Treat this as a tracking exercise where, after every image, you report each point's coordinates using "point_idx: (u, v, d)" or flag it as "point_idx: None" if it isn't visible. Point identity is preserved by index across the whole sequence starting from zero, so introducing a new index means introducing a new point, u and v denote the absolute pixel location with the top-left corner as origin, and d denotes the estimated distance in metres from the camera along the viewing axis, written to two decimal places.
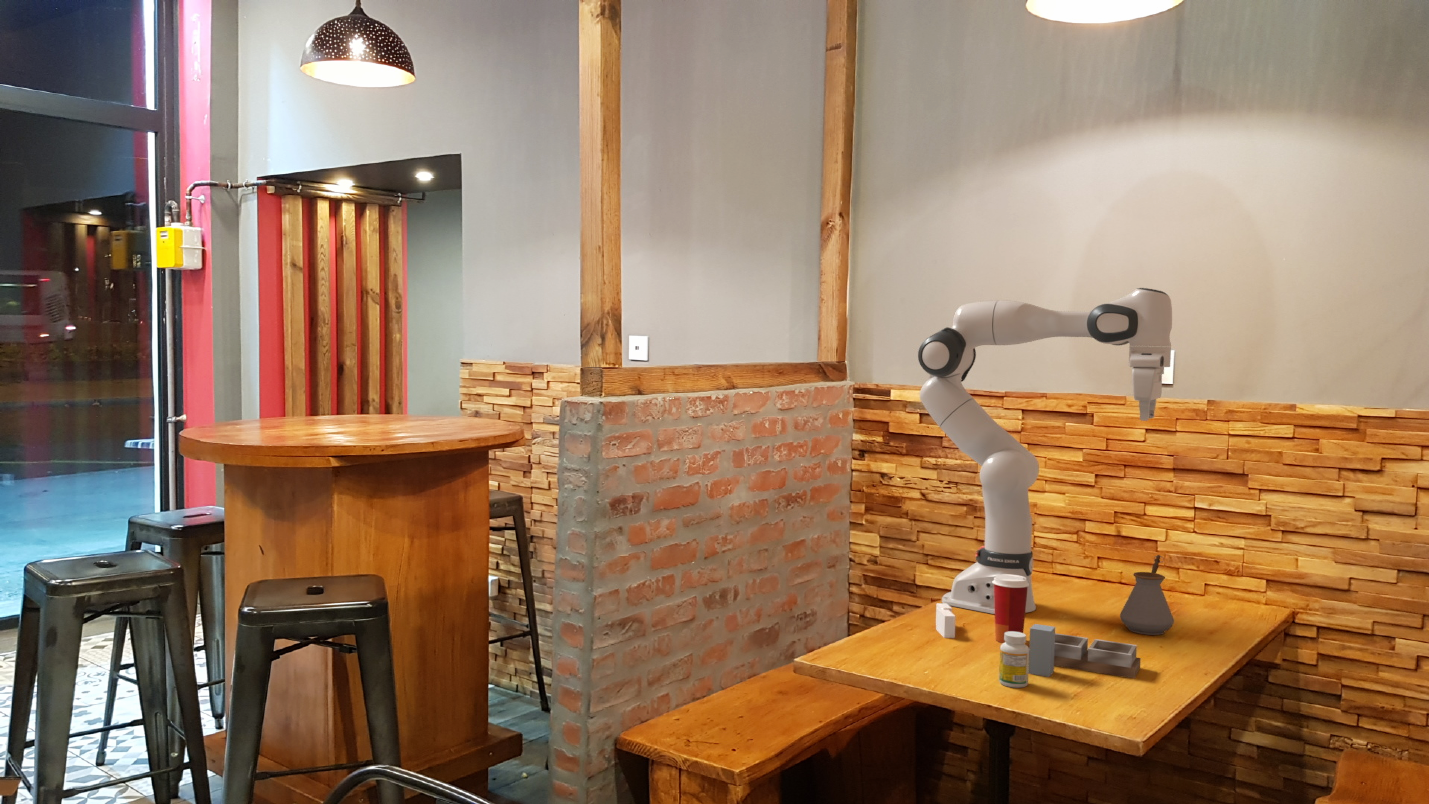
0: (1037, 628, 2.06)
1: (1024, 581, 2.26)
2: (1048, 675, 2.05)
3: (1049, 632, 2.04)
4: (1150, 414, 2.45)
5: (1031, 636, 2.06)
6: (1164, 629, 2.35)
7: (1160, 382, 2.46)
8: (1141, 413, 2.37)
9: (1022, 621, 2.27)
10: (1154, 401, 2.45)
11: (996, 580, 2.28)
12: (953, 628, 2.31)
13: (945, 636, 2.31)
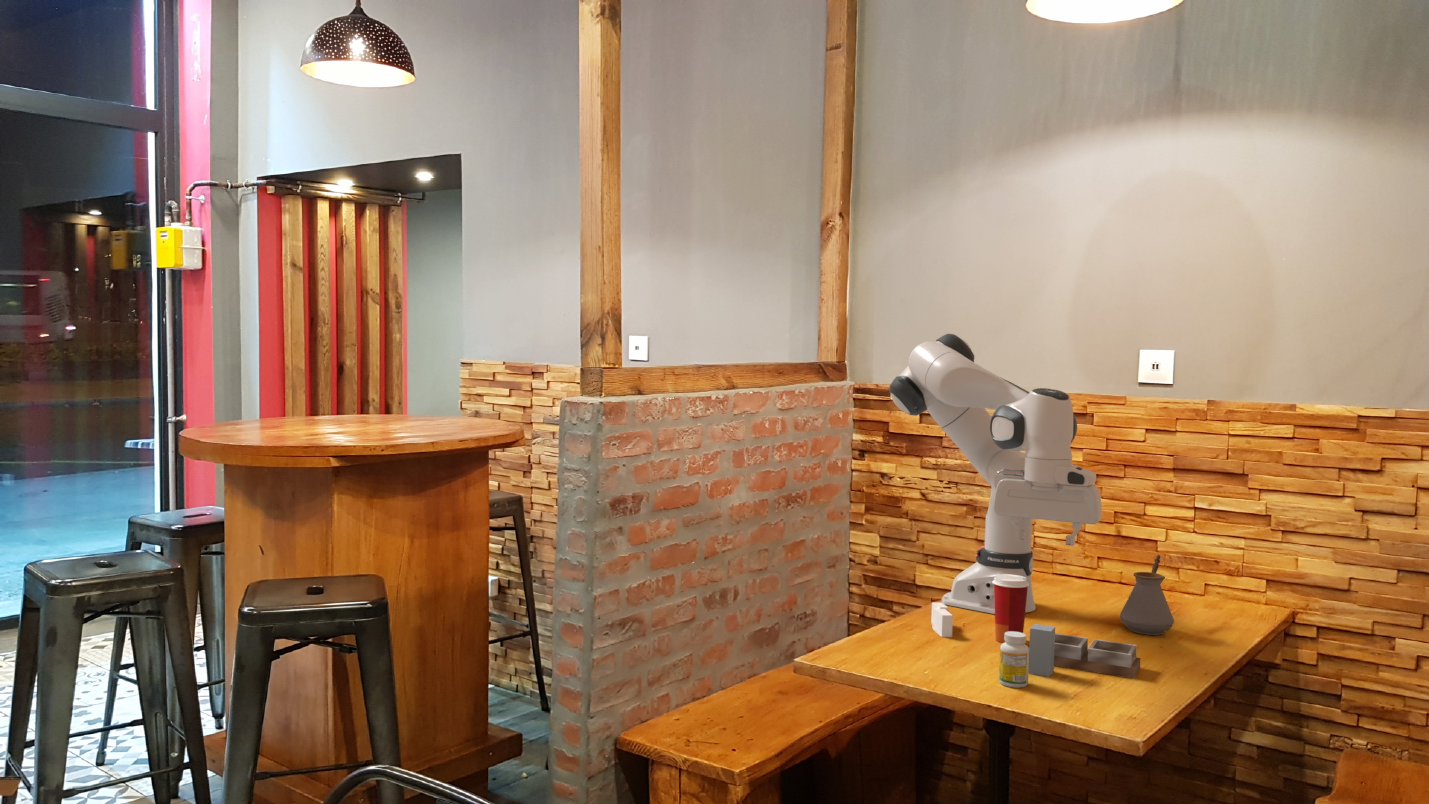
0: (1037, 628, 2.06)
1: (1024, 581, 2.26)
2: (1048, 675, 2.05)
3: (1049, 632, 2.04)
4: (1024, 535, 2.08)
5: (1031, 636, 2.06)
6: (1164, 629, 2.35)
7: None
8: (1074, 537, 2.02)
9: (1022, 621, 2.27)
10: (1020, 519, 2.09)
11: (996, 580, 2.28)
12: (951, 627, 2.31)
13: (943, 635, 2.31)
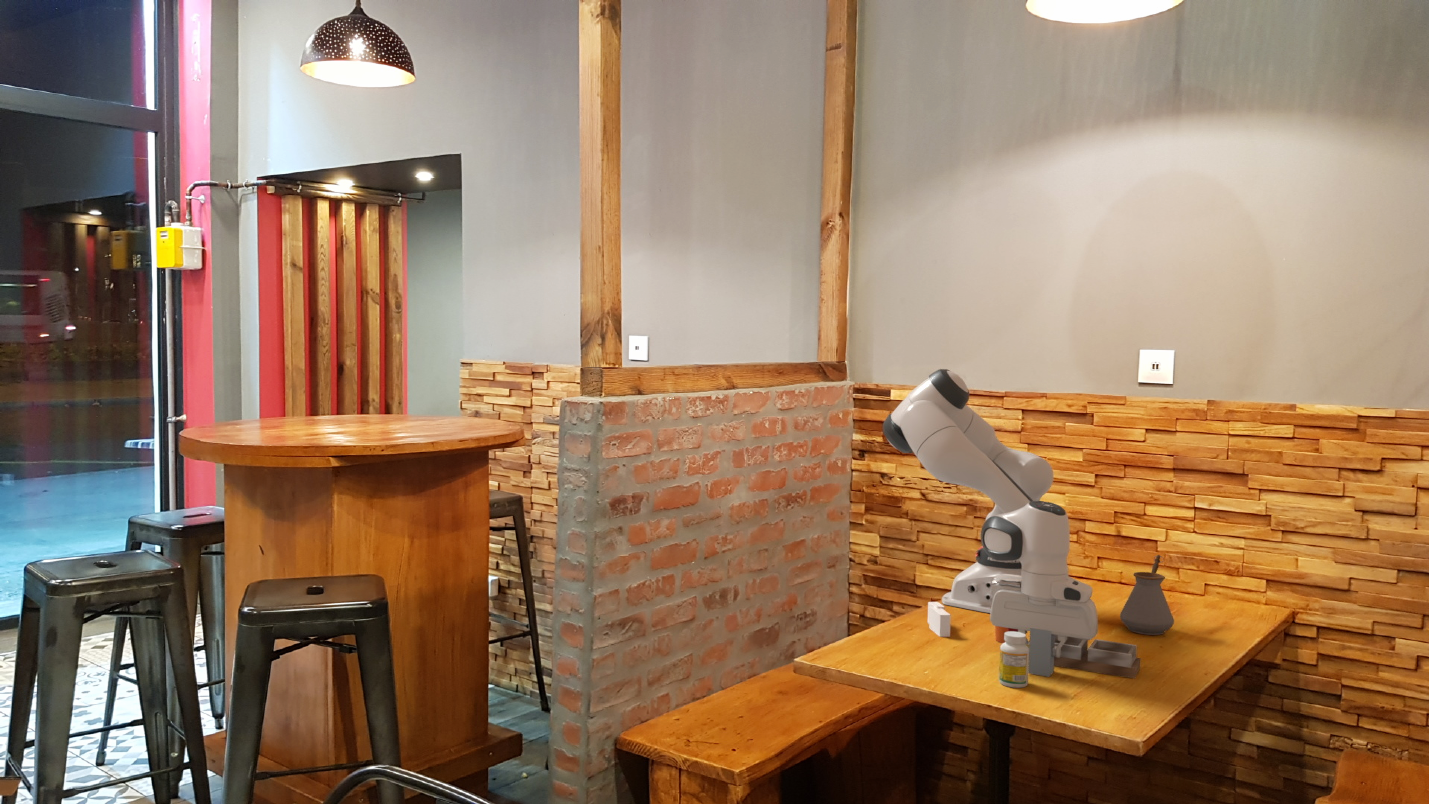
0: None
1: None
2: (1048, 675, 2.05)
3: (1049, 632, 2.04)
4: None
5: (1031, 636, 2.06)
6: (1164, 629, 2.35)
7: None
8: (1059, 649, 2.05)
9: None
10: None
11: (996, 580, 2.28)
12: (949, 626, 2.32)
13: (941, 635, 2.31)
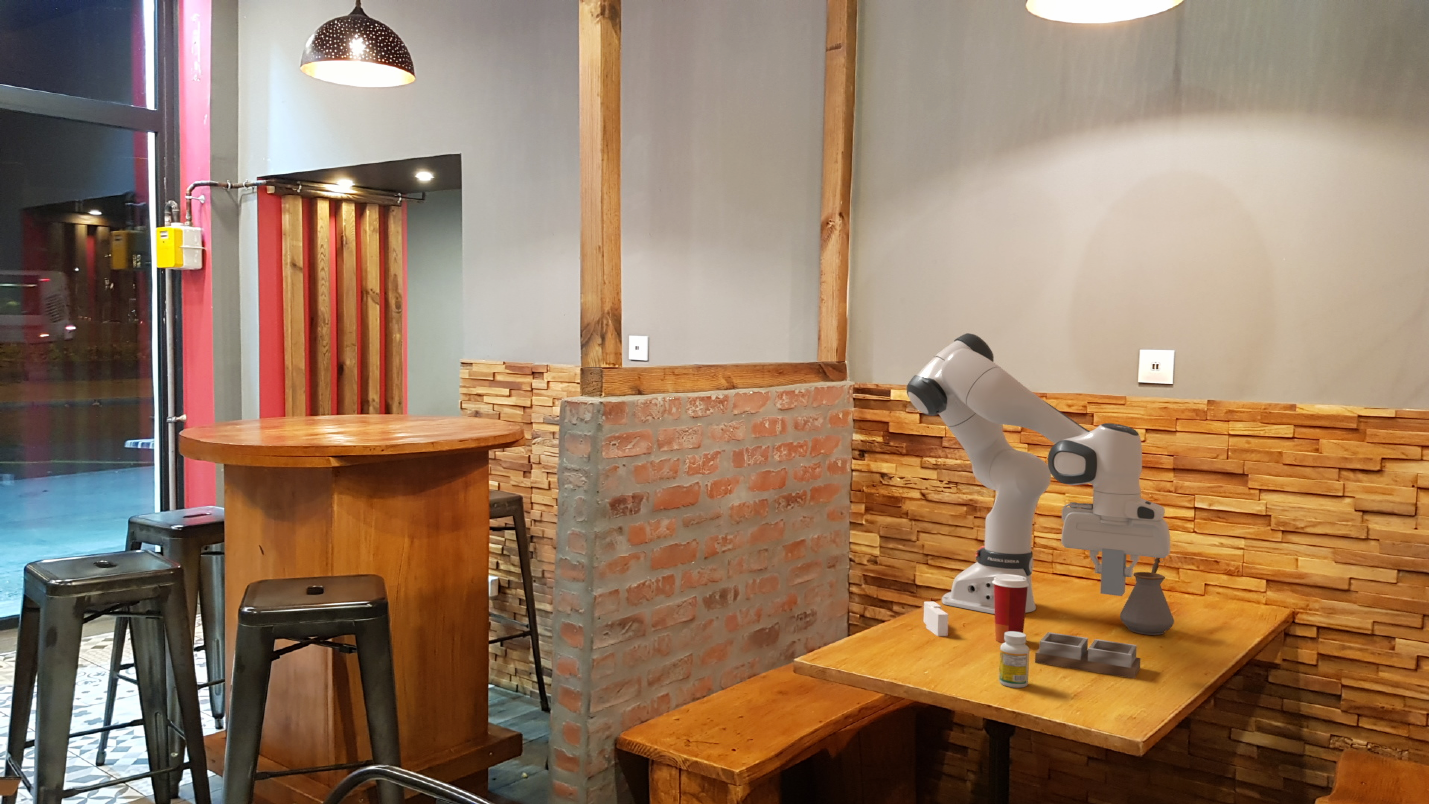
0: None
1: (1024, 581, 2.26)
2: (1120, 594, 2.07)
3: (1122, 552, 2.06)
4: None
5: (1103, 556, 2.08)
6: (1164, 629, 2.35)
7: None
8: (1132, 569, 2.07)
9: (1022, 621, 2.27)
10: (1098, 552, 2.11)
11: (996, 580, 2.28)
12: (946, 626, 2.32)
13: (938, 634, 2.32)
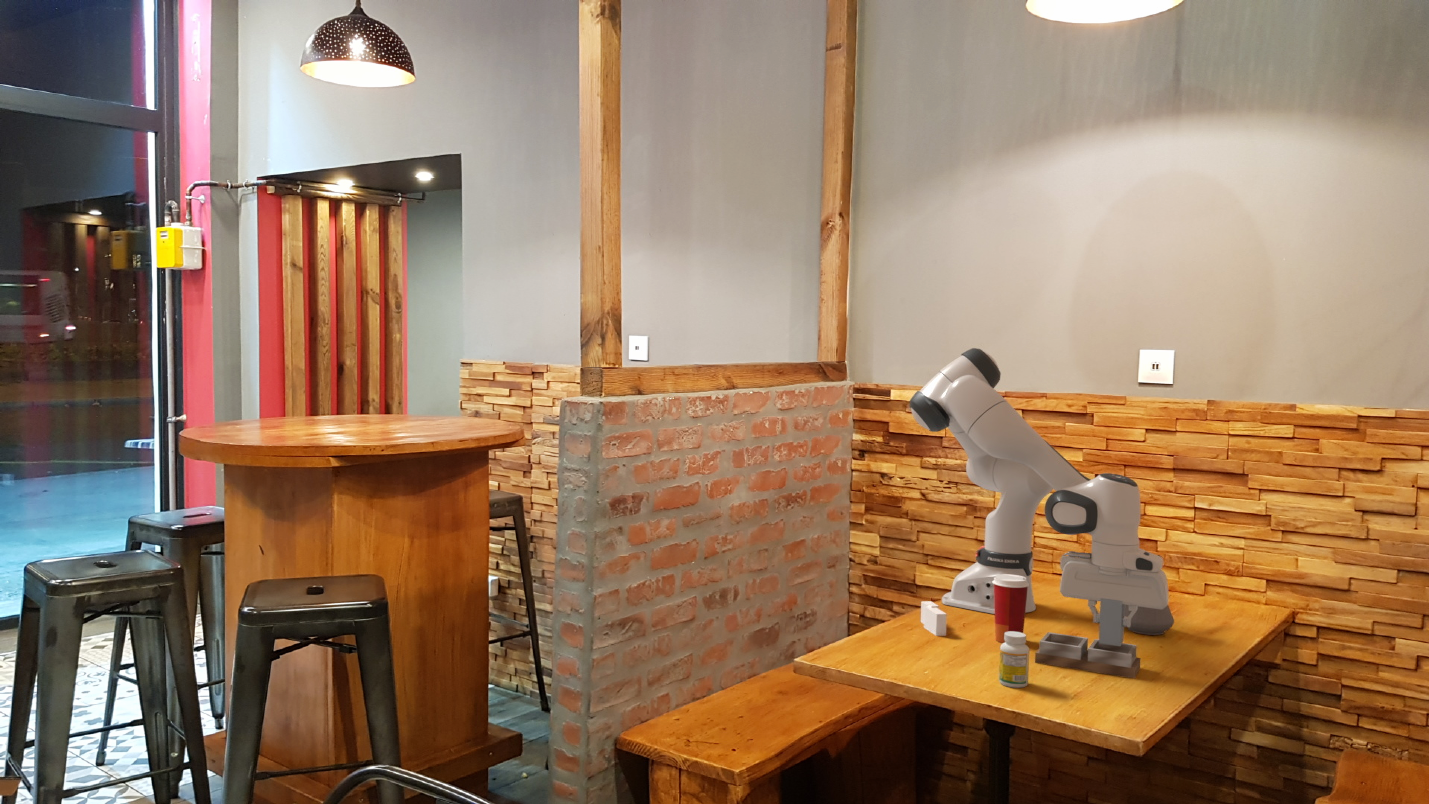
0: None
1: (1024, 581, 2.26)
2: (1119, 644, 2.07)
3: (1120, 602, 2.07)
4: None
5: (1102, 606, 2.08)
6: (1164, 629, 2.35)
7: None
8: (1130, 619, 2.07)
9: (1022, 621, 2.27)
10: (1096, 601, 2.12)
11: (996, 580, 2.28)
12: (945, 625, 2.32)
13: (937, 634, 2.32)
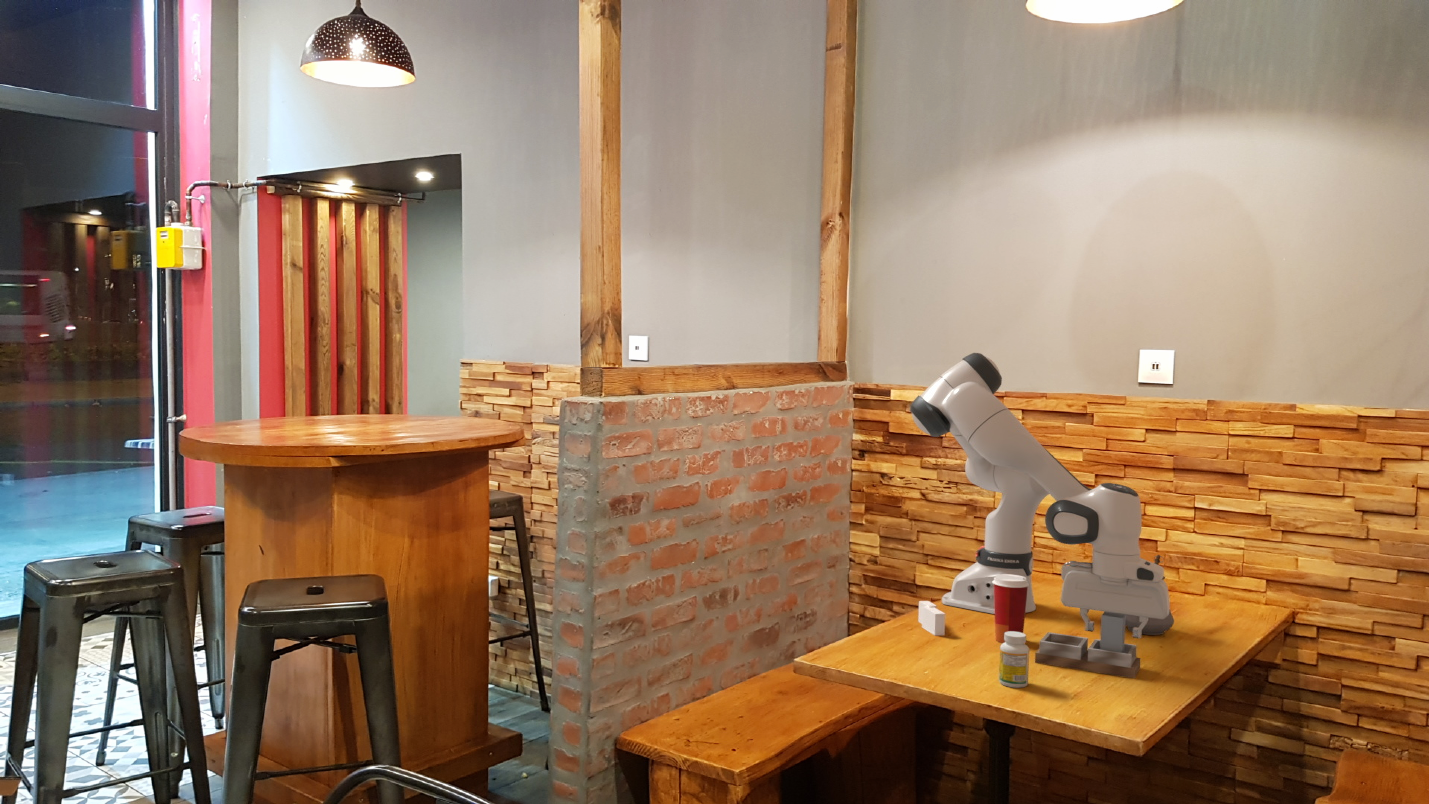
0: (1108, 615, 2.09)
1: (1024, 581, 2.26)
2: None
3: (1121, 619, 2.07)
4: (1093, 626, 2.12)
5: (1102, 623, 2.09)
6: (1164, 629, 2.35)
7: None
8: (1141, 630, 2.07)
9: (1022, 621, 2.27)
10: (1088, 610, 2.13)
11: (996, 580, 2.28)
12: (943, 625, 2.33)
13: (935, 634, 2.32)
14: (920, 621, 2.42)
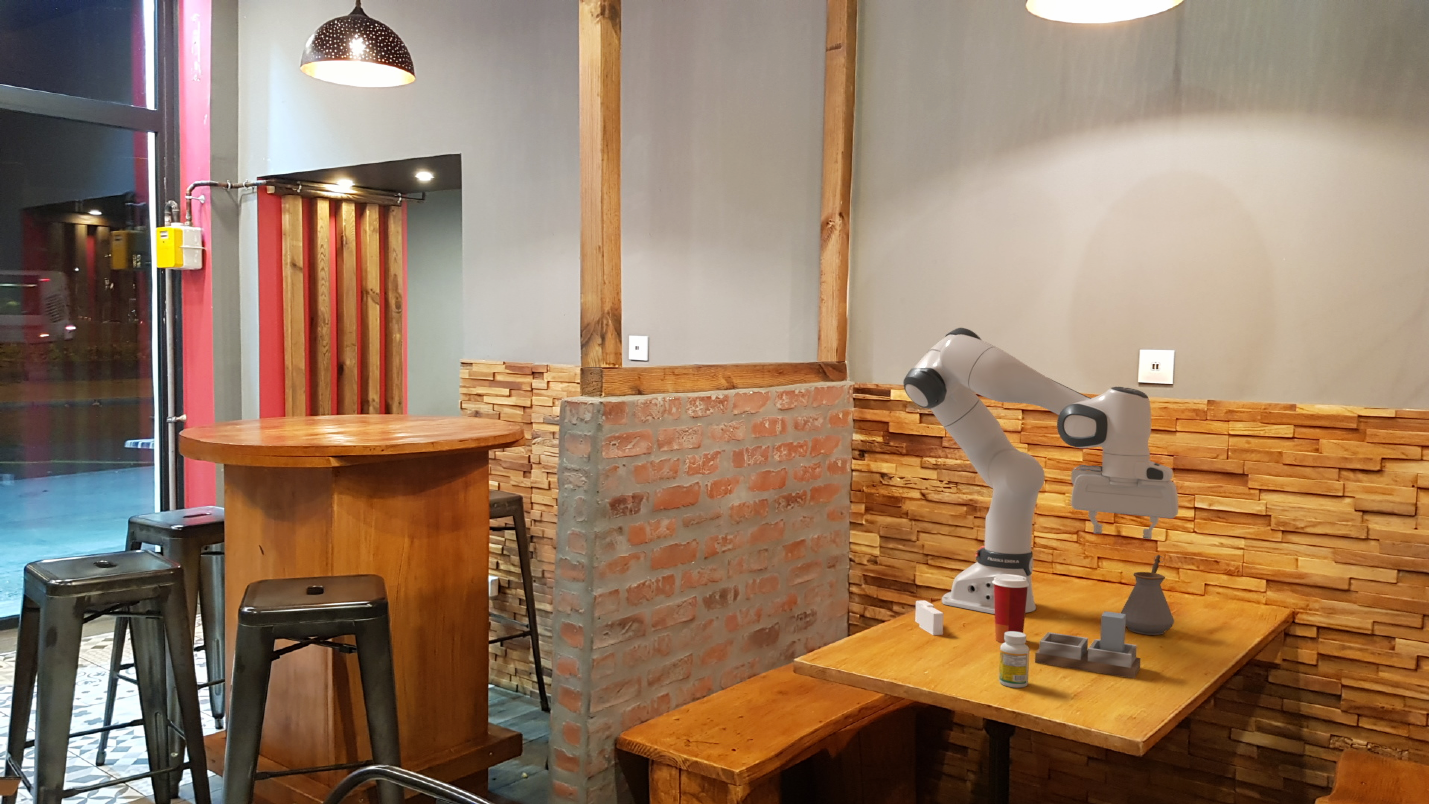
0: (1108, 615, 2.09)
1: (1024, 581, 2.26)
2: None
3: (1121, 619, 2.07)
4: (1101, 528, 2.15)
5: (1102, 623, 2.09)
6: (1164, 629, 2.35)
7: None
8: (1151, 531, 2.09)
9: (1022, 621, 2.27)
10: (1096, 513, 2.16)
11: (996, 580, 2.28)
12: (941, 625, 2.33)
13: (934, 633, 2.33)
14: (917, 621, 2.43)
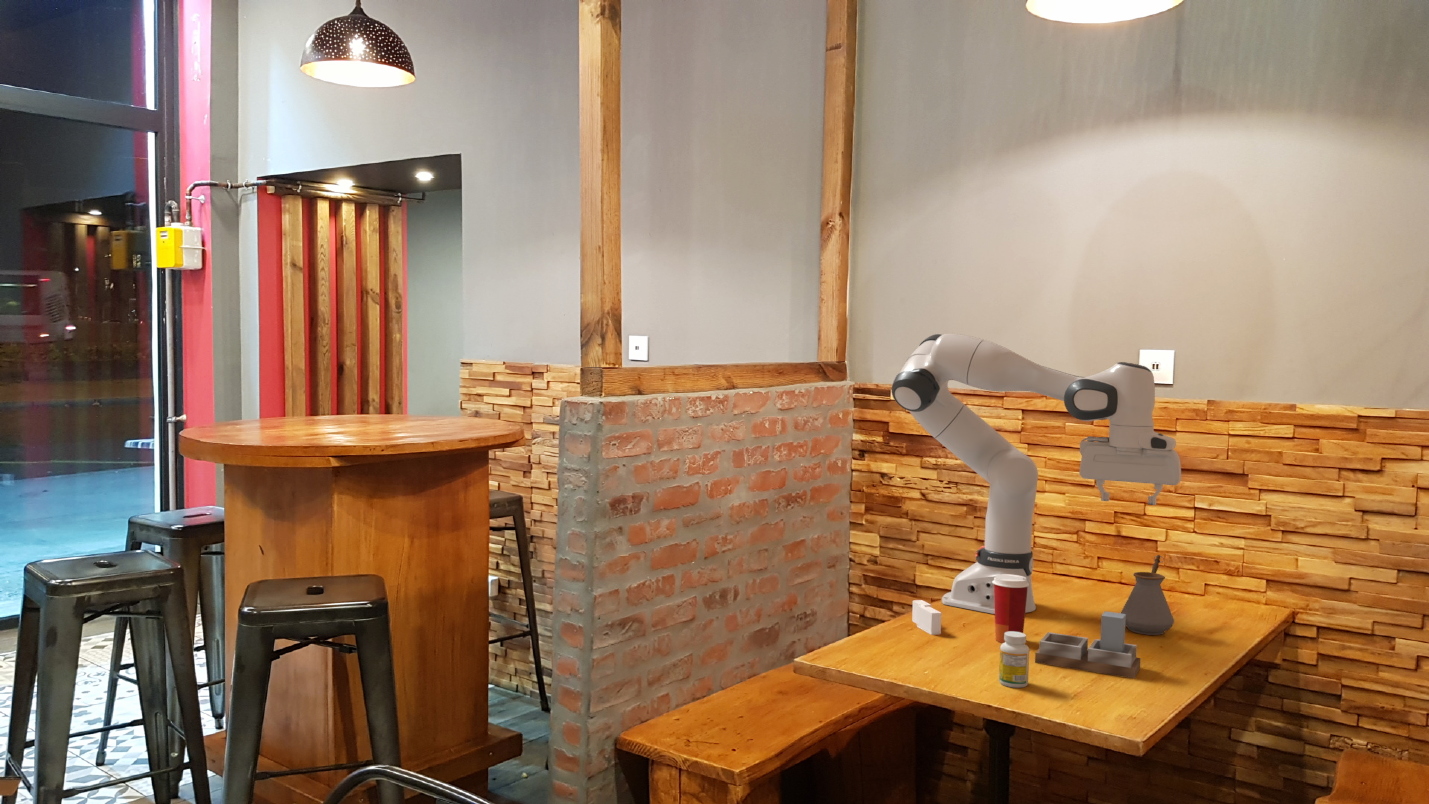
0: (1108, 615, 2.09)
1: (1024, 581, 2.26)
2: None
3: (1121, 619, 2.07)
4: (1108, 496, 2.27)
5: (1102, 623, 2.09)
6: (1164, 629, 2.35)
7: None
8: (1155, 497, 2.22)
9: (1022, 621, 2.27)
10: (1104, 482, 2.28)
11: (996, 580, 2.28)
12: (939, 624, 2.33)
13: (932, 633, 2.33)
14: (914, 620, 2.43)
